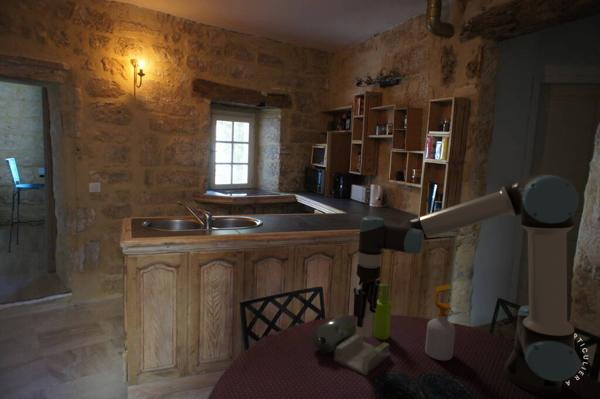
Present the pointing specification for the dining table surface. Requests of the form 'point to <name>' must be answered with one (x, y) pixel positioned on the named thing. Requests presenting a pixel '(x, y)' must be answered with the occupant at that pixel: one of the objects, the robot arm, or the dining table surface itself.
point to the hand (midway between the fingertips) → (363, 332)
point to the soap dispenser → (382, 314)
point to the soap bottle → (440, 331)
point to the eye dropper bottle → (368, 321)
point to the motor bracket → (348, 345)
